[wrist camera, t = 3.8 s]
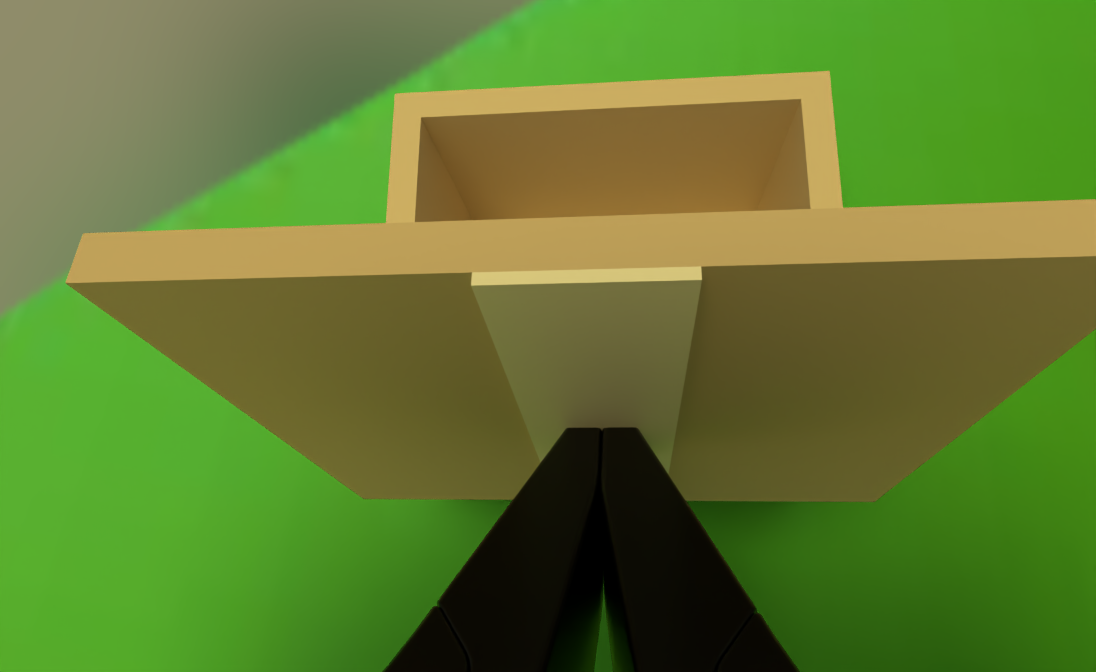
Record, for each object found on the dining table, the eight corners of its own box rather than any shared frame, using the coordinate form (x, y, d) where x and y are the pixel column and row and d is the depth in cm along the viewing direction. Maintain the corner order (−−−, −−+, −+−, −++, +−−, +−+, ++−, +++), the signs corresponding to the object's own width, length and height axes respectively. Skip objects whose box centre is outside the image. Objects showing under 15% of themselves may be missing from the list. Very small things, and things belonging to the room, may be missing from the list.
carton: (794, 490, 19) (869, 473, 13) (445, 489, 20) (368, 472, 14) (773, 198, 21) (829, 71, 15) (457, 210, 22) (395, 93, 16)
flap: (869, 472, 13) (875, 509, 12) (367, 471, 13) (363, 505, 13) (1169, 196, 6) (1198, 267, 5) (83, 233, 6) (61, 295, 6)
